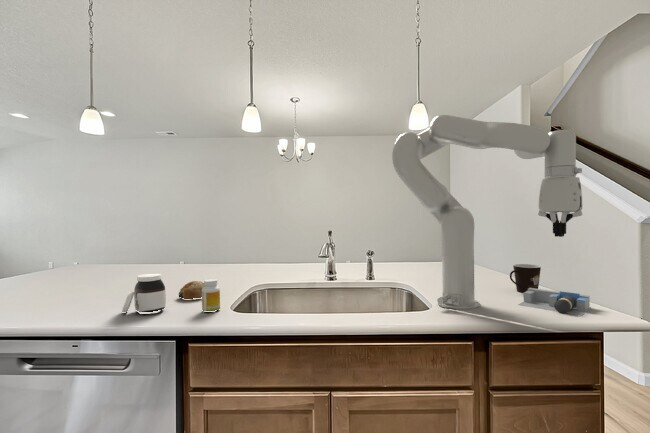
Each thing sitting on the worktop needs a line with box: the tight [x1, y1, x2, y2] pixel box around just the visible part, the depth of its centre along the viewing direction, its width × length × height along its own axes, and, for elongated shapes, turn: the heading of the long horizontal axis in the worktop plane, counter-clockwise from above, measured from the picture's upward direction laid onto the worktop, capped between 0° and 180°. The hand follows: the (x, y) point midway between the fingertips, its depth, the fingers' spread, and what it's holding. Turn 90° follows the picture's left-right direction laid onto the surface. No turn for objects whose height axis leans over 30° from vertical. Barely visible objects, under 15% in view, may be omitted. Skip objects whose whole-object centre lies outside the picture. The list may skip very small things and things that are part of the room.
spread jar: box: [121, 273, 167, 313], centre depth 108 cm, size 12×11×12 cm
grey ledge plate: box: [517, 288, 592, 317], centre depth 105 cm, size 12×16×5 cm
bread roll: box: [177, 280, 205, 299], centre depth 126 cm, size 10×10×8 cm
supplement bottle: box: [201, 278, 221, 312], centre depth 108 cm, size 5×5×10 cm
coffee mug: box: [509, 263, 542, 294], centre depth 124 cm, size 12×9×10 cm
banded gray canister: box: [554, 296, 576, 314], centre depth 101 cm, size 8×4×4 cm, turn 133°
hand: (559, 236), depth 101 cm, fingers closed
